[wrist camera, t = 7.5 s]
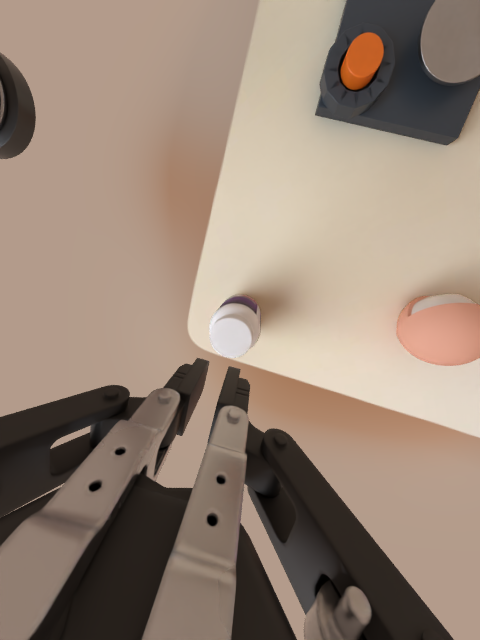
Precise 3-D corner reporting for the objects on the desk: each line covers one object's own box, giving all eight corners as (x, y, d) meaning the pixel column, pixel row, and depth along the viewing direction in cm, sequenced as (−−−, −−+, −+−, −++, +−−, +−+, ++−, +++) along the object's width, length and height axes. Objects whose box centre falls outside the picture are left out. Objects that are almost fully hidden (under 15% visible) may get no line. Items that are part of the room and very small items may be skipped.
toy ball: (463, 298, 26) (545, 312, 19) (433, 355, 28) (495, 389, 21) (398, 281, 27) (452, 289, 19) (372, 339, 29) (412, 367, 21)
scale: (309, 119, 23) (316, 99, 21) (345, -13, 21) (358, -58, 18) (444, 150, 23) (470, 134, 20) (499, 20, 20) (539, -21, 17)
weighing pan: (403, 76, 20) (406, 72, 19) (441, -31, 18) (445, -38, 17) (482, 94, 19) (486, 90, 19) (529, -13, 17) (535, -20, 17)
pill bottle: (213, 304, 30) (191, 324, 20) (250, 287, 28) (244, 299, 19) (231, 339, 31) (218, 373, 21) (267, 323, 30) (270, 352, 20)
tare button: (335, 86, 20) (341, 72, 19) (347, 45, 20) (354, 27, 18) (367, 93, 20) (375, 80, 19) (380, 52, 20) (390, 35, 18)
